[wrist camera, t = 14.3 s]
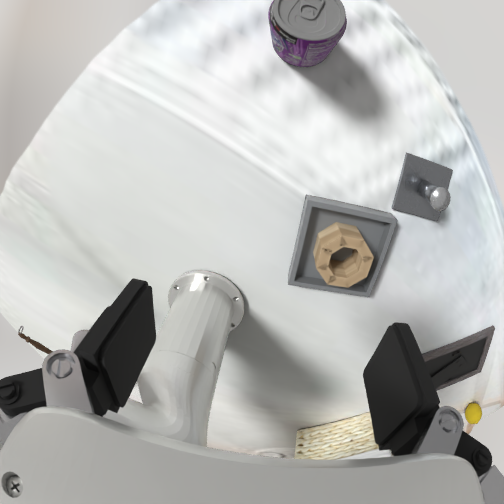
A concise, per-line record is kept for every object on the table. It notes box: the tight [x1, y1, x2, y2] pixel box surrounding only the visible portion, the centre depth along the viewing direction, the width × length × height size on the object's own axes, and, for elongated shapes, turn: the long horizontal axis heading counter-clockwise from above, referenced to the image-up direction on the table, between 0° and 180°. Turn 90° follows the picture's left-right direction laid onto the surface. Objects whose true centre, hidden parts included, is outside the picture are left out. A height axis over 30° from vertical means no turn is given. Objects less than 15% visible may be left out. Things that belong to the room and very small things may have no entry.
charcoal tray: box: [288, 195, 397, 297], centre depth 38 cm, size 12×12×2 cm
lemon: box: [465, 403, 482, 424], centre depth 53 cm, size 6×6×8 cm
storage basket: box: [294, 412, 391, 460], centre depth 56 cm, size 24×16×15 cm
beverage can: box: [269, 0, 347, 67], centre depth 22 cm, size 7×7×12 cm
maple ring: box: [313, 222, 374, 288], centre depth 36 cm, size 7×7×4 cm
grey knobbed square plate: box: [392, 153, 453, 221], centre depth 31 cm, size 8×8×6 cm
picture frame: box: [422, 326, 495, 391], centre depth 48 cm, size 16×2×21 cm
